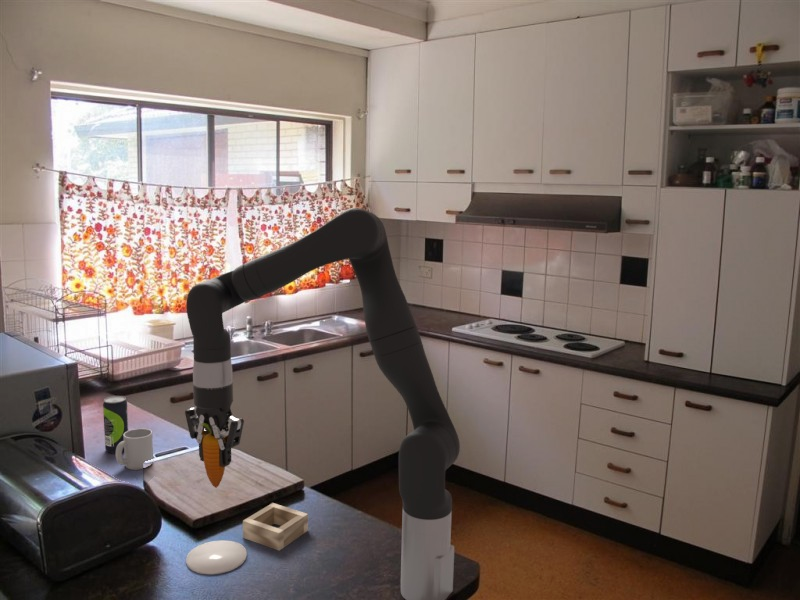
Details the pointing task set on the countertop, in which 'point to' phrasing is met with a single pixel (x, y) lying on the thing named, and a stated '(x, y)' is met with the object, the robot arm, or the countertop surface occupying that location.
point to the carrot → (212, 457)
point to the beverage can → (115, 421)
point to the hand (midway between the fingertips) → (215, 462)
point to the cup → (135, 448)
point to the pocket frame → (276, 538)
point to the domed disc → (216, 557)
